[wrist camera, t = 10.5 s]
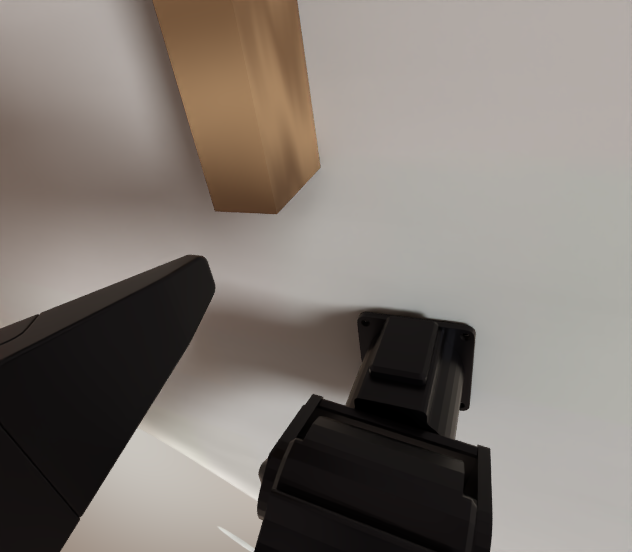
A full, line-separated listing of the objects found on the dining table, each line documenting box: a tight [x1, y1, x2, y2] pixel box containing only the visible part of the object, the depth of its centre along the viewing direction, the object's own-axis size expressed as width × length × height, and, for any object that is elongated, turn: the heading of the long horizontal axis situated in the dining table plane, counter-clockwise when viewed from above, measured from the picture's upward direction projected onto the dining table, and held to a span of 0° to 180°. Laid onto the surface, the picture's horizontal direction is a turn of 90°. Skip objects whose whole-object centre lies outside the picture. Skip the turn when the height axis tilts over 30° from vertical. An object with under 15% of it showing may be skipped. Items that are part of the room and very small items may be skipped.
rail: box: [152, 0, 320, 214], centre depth 16 cm, size 14×3×5 cm, turn 9°
